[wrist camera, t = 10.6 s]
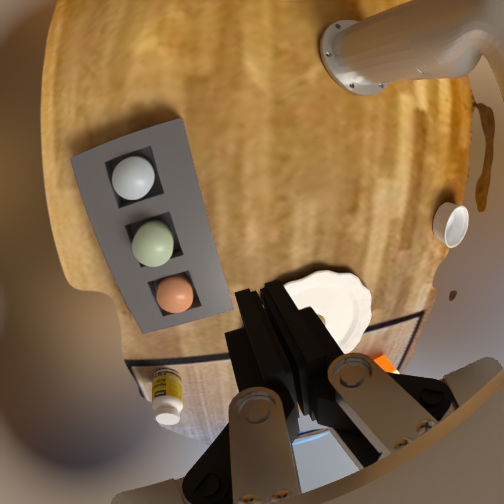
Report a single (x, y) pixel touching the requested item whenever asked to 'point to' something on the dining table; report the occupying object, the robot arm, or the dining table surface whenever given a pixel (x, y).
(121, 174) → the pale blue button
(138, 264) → the button panel
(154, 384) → the supplement bottle
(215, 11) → the dining table surface
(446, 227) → the ramekin
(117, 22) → the dining table surface
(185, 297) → the terracotta button
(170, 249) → the sage button
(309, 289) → the plate
